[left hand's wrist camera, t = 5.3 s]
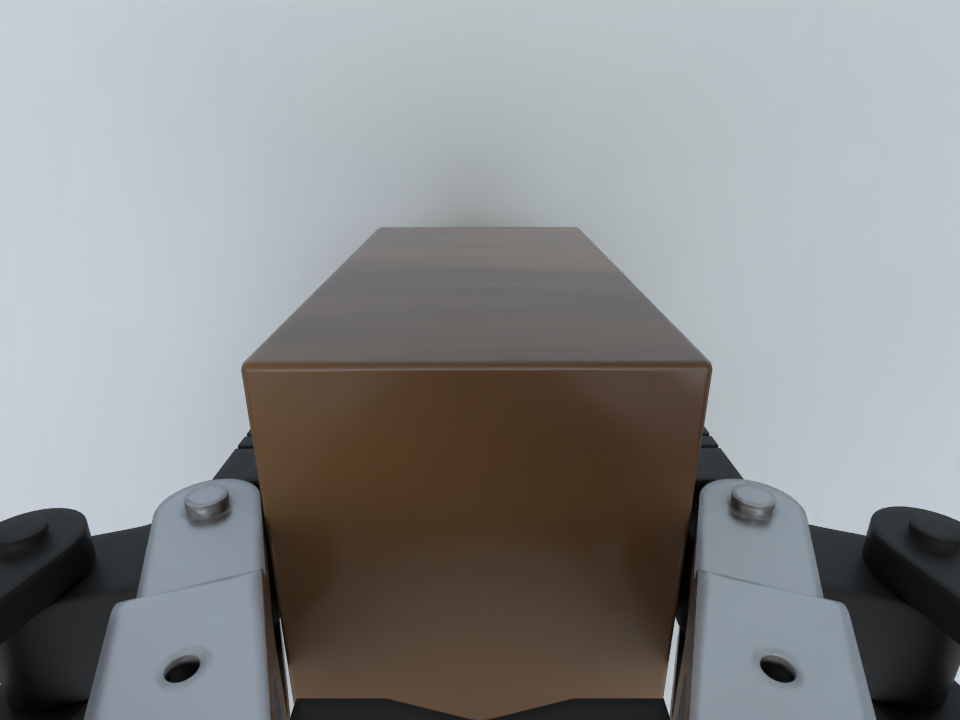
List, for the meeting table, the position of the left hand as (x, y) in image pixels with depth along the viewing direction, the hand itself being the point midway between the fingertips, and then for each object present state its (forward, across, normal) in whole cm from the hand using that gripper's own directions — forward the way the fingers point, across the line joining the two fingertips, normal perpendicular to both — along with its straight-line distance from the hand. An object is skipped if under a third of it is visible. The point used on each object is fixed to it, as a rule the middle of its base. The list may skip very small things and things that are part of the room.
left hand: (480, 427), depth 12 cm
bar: (+5, 0, -9) cm, 10 cm away
